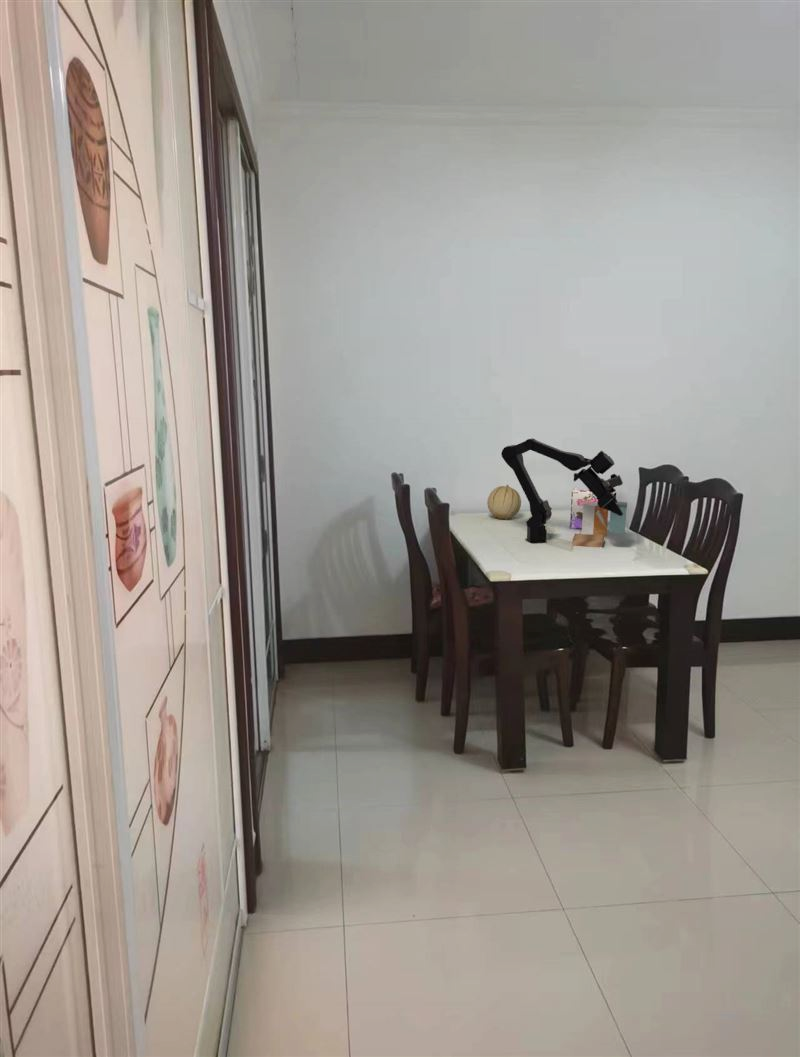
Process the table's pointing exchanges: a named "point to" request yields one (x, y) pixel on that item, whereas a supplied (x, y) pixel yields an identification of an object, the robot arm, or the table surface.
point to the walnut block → (588, 540)
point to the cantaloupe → (504, 502)
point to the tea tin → (618, 519)
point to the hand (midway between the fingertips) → (622, 513)
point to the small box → (594, 519)
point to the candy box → (579, 506)
